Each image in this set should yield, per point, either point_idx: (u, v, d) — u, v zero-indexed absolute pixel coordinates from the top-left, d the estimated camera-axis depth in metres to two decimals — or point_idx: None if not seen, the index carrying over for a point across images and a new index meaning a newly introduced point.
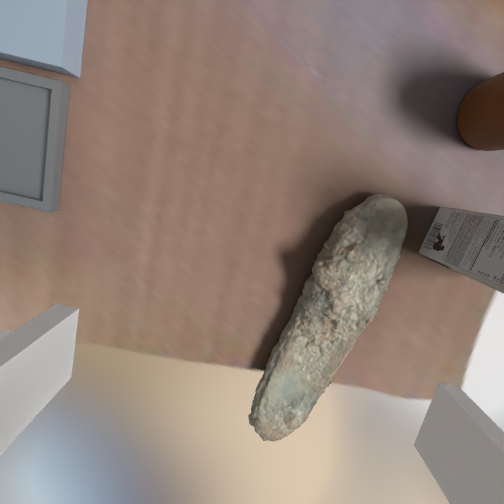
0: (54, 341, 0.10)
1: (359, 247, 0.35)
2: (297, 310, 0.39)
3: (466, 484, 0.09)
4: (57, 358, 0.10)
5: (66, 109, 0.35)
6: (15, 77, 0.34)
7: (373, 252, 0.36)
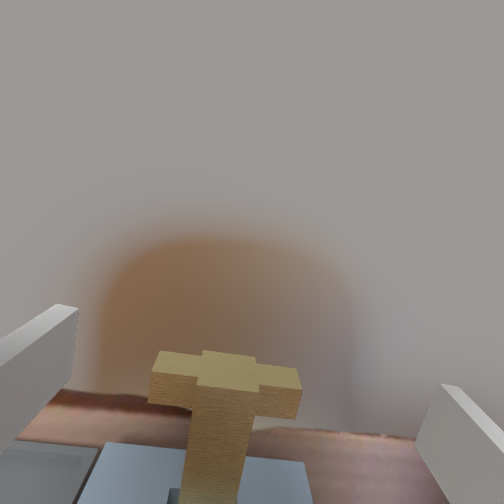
0: (54, 341, 0.10)
1: None
2: None
3: (466, 484, 0.09)
4: (57, 358, 0.10)
5: None
6: None
7: None
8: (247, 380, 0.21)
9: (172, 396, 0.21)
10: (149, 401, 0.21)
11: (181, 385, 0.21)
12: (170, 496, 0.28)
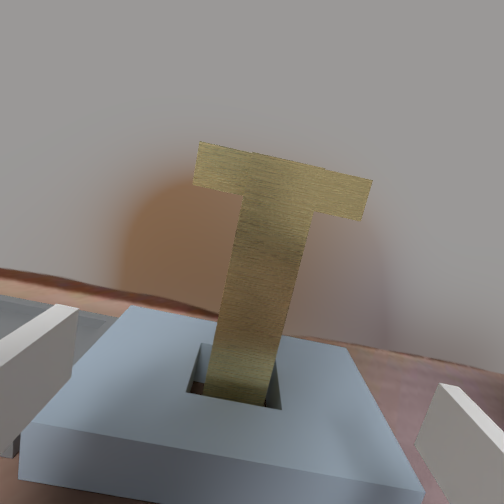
0: (54, 341, 0.10)
1: None
2: None
3: (466, 484, 0.09)
4: (57, 358, 0.10)
5: None
6: None
7: None
8: None
9: (221, 178, 0.18)
10: (194, 182, 0.18)
11: (232, 163, 0.18)
12: (200, 354, 0.25)
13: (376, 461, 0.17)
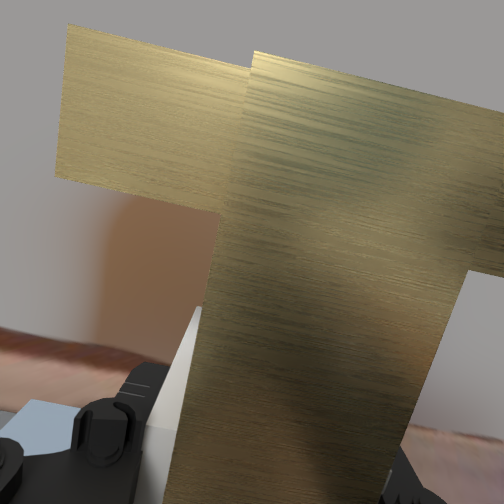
0: None
1: None
2: None
3: None
4: None
5: None
6: None
7: None
8: None
9: (149, 155, 0.05)
10: (61, 171, 0.06)
11: (186, 106, 0.05)
12: None
13: None
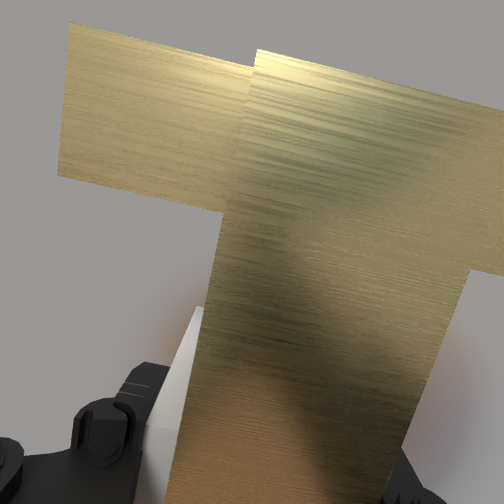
0: None
1: None
2: None
3: None
4: None
5: None
6: None
7: None
8: None
9: (151, 154, 0.05)
10: (63, 170, 0.06)
11: (188, 105, 0.05)
12: None
13: None
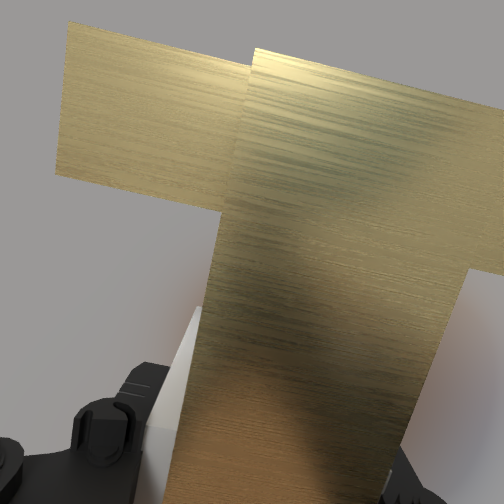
0: None
1: None
2: None
3: None
4: None
5: None
6: None
7: None
8: None
9: (149, 153, 0.05)
10: (61, 169, 0.06)
11: (186, 104, 0.05)
12: None
13: None
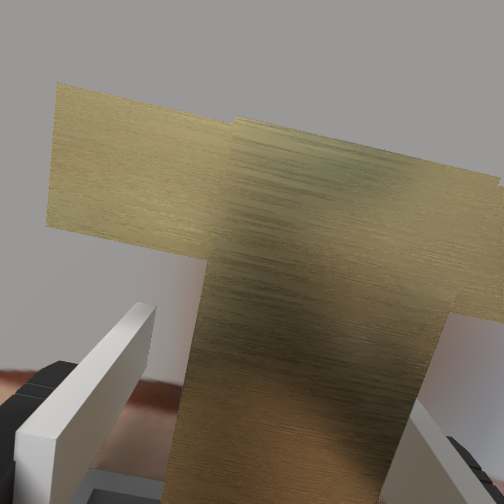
0: (143, 333, 0.11)
1: None
2: None
3: None
4: (142, 349, 0.12)
5: None
6: None
7: None
8: None
9: (137, 206, 0.06)
10: (52, 221, 0.06)
11: (172, 159, 0.05)
12: None
13: None
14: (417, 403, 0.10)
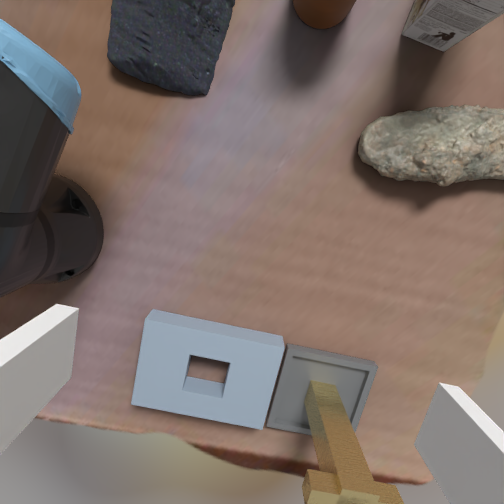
0: (54, 340, 0.10)
1: (417, 156, 0.39)
2: (483, 177, 0.42)
3: (466, 484, 0.09)
4: (57, 358, 0.10)
5: (303, 347, 0.49)
6: (284, 377, 0.49)
7: (413, 138, 0.40)
8: (346, 498, 0.33)
9: (384, 488, 0.34)
10: (394, 486, 0.35)
11: (383, 496, 0.34)
12: (221, 393, 0.48)
13: (157, 331, 0.45)
14: None
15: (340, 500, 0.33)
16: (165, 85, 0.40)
